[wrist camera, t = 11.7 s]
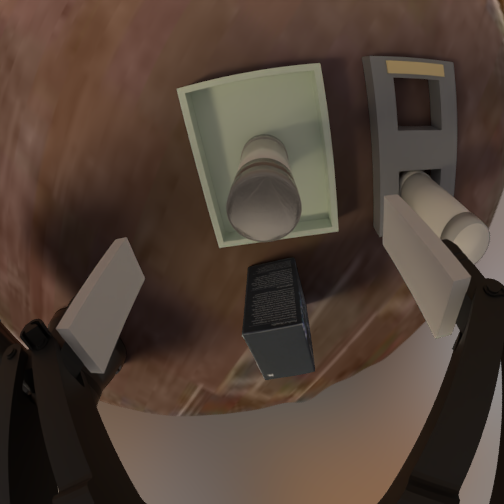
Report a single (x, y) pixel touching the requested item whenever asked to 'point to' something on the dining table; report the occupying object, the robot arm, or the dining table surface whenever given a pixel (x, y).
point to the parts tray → (256, 123)
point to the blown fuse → (264, 192)
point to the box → (277, 320)
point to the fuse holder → (410, 137)
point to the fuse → (444, 213)
